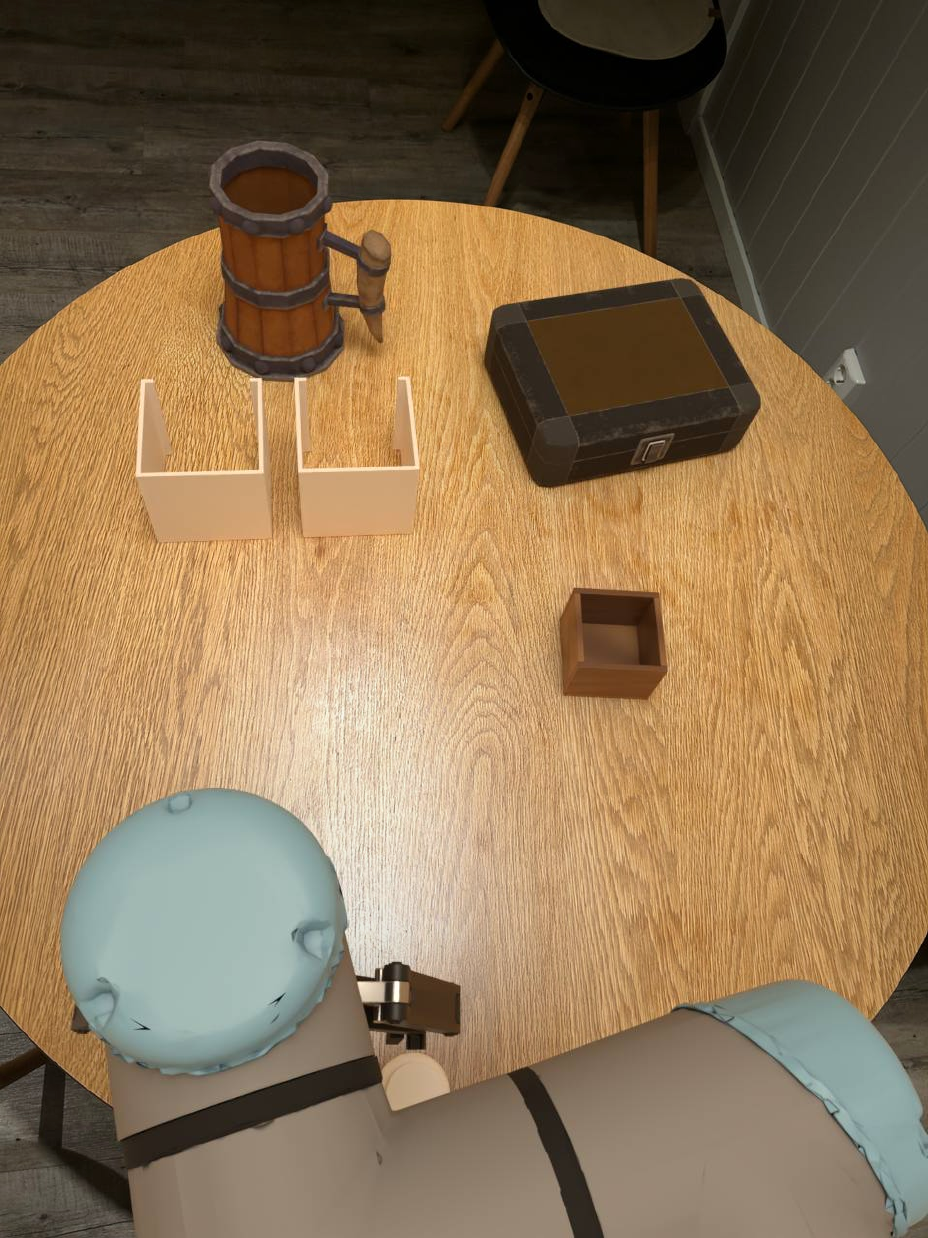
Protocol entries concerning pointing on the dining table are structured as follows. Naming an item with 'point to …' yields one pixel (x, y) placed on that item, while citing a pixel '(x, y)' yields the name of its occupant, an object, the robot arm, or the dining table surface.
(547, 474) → the cash box
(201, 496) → the beige u-shaped pieces
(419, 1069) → the pill bottle
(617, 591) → the wooden box
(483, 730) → the dining table surface
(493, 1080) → the robot arm
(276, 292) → the mug
